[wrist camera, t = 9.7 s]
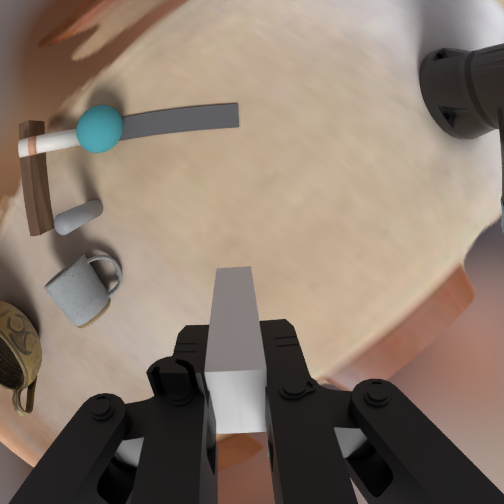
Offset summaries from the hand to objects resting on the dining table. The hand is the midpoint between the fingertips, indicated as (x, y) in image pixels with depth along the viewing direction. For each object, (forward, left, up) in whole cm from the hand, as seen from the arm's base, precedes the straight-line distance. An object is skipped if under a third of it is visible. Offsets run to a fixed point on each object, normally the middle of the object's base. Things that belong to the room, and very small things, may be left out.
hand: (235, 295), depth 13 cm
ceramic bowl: (+43, +19, -25) cm, 53 cm away
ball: (+16, -11, -21) cm, 29 cm away
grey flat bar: (+7, -11, -24) cm, 28 cm away
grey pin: (+19, -1, -24) cm, 31 cm away
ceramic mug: (+22, +9, -25) cm, 34 cm away
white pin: (+20, -11, -23) cm, 33 cm away
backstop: (+28, -7, -24) cm, 38 cm away
